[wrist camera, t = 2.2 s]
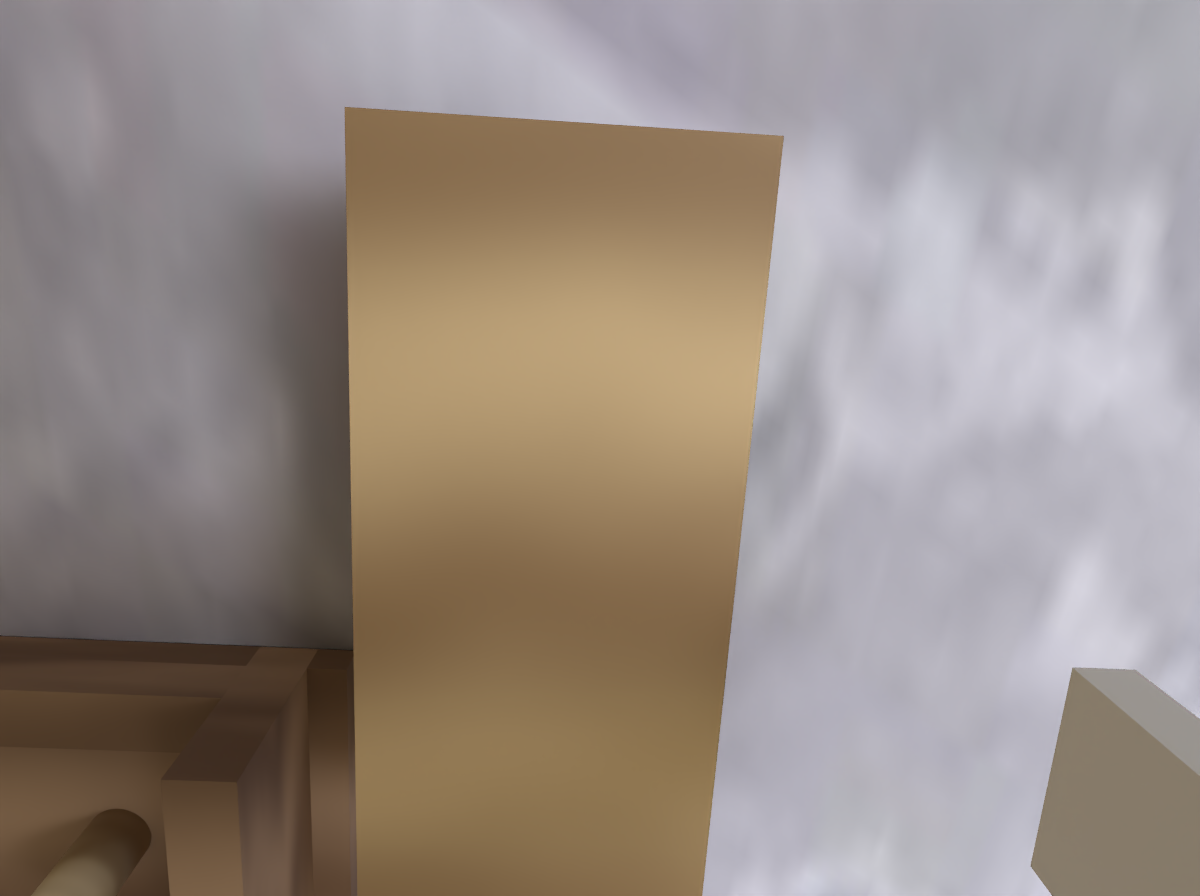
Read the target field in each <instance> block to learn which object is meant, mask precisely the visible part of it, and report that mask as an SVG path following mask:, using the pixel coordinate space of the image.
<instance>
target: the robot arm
mask: <svg viewBox="0 0 1200 896" xmlns="http://www.w3.org/2000/svg"><path fill="white" fill-rule="evenodd" d="M1031 867H1032V869H1033V870H1034V871H1035V873H1036V874H1037V875H1038V877H1039V878H1040V880H1041V881H1042V882H1043V884H1044V885H1045V886H1046V888H1047V889H1048V890H1049V892H1050V893H1051V895H1052V896H1200V719H1199V718H1198V717H1196V716H1195V715H1194V714H1192V713H1191V712H1190V711H1188V710H1187V709H1186V708H1185V707H1183V706H1182V705H1181V704H1179V703H1178V702H1177V701H1175V700H1174V699H1173V698H1171V697H1170V696H1169V695H1168V694H1166V693H1165V692H1164V691H1162V690H1161V689H1160V688H1158V687H1157V686H1156V685H1154V684H1153V683H1152V682H1150V681H1149V680H1148V679H1147V678H1145V677H1144V676H1143V675H1141V674H1140V673H1139V672H1137V671H1136V670H1126V669H1098V668H1072V673H1071V678H1070V682H1069V687H1068V692H1067V696H1066V701H1065V706H1064V711H1063V715H1062V720H1061V725H1060V729H1059V734H1058V739H1057V744H1056V748H1055V753H1054V758H1053V763H1052V767H1051V772H1050V777H1049V781H1048V786H1047V791H1046V796H1045V800H1044V805H1043V810H1042V814H1041V819H1040V824H1039V829H1038V833H1037V838H1036V843H1035V847H1034V852H1033V857H1032V862H1031Z"/></svg>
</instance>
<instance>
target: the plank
mask: <svg viewBox="0 0 1200 896" xmlns="http://www.w3.org/2000/svg"><path fill="white" fill-rule="evenodd" d="M783 138H784V136H775V135H760V134H745V133H730V132H715V131H700V130H684V129H669V128H654V127H639V126H624V125H609V124H594V123H578V122H563V121H548V120H533V119H518V118H503V117H488V116H472V115H457V114H442V113H427V112H412V111H397V110H382V109H366V108H351V107H345V155H346V217H347V280H348V342H349V404H350V466H351V529H352V591H353V653H354V716H355V778H356V840H357V896H702V891H703V882H704V873H705V863H706V854H707V845H708V836H709V826H710V817H711V808H712V798H713V789H714V780H715V771H716V761H717V752H718V743H719V733H720V724H721V715H722V705H723V696H724V687H725V678H726V668H727V659H728V650H729V640H730V631H731V622H732V612H733V603H734V594H735V585H736V575H737V566H738V557H739V547H740V538H741V529H742V520H743V510H744V501H745V492H746V482H747V473H748V464H749V454H750V445H751V436H752V427H753V417H754V408H755V399H756V389H757V380H758V371H759V361H760V352H761V343H762V334H763V324H764V315H765V306H766V296H767V287H768V278H769V268H770V259H771V250H772V241H773V231H774V222H775V213H776V203H777V194H778V185H779V176H780V166H781V157H782V148H783Z"/></svg>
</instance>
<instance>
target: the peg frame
mask: <svg viewBox="0 0 1200 896" xmlns="http://www.w3.org/2000/svg"><path fill="white" fill-rule="evenodd" d="M0 896H357V840H356V778H355V716H354V653H353V650H331V649H306V648H281V647H257V646H232V645H207V644H183V643H158V642H133V641H109V640H84V639H59V638H35V637H10V636H0Z"/></svg>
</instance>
